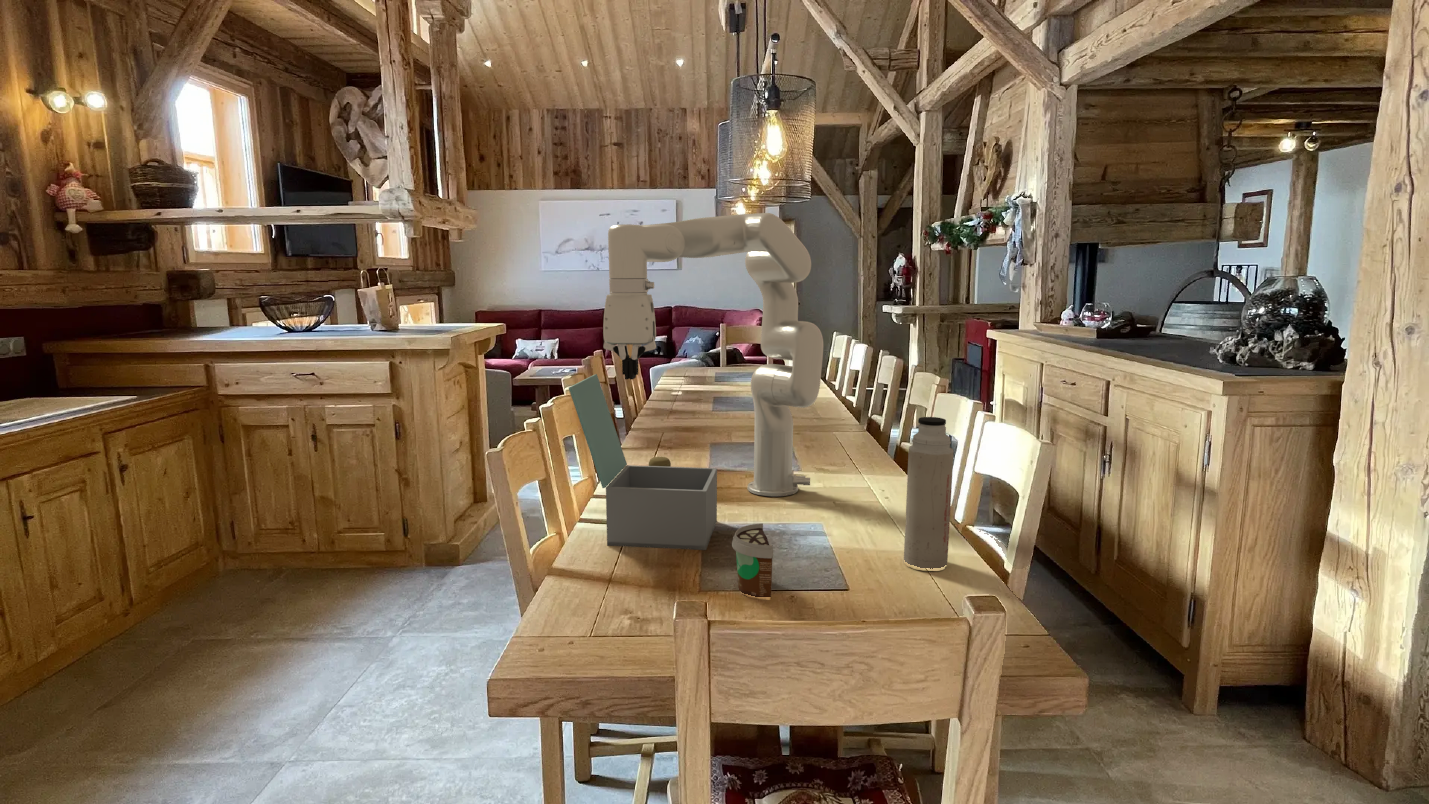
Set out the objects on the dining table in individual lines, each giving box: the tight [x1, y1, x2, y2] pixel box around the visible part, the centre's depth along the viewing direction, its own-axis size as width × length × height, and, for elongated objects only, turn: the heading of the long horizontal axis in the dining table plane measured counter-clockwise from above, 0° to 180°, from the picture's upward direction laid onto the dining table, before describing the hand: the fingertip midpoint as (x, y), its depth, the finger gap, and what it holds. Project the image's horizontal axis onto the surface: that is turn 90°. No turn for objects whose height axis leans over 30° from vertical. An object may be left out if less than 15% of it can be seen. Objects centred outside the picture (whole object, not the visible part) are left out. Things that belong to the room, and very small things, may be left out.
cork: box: [648, 456, 672, 467], centre depth 186 cm, size 6×6×11 cm
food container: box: [731, 523, 774, 598], centre depth 136 cm, size 12×6×10 cm, turn 5°
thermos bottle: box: [903, 416, 955, 569], centre depth 146 cm, size 8×8×28 cm
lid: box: [568, 373, 628, 489], centre depth 164 cm, size 21×19×1 cm
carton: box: [605, 464, 718, 551], centre depth 165 cm, size 20×18×12 cm
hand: (630, 378), depth 161 cm, fingers closed
